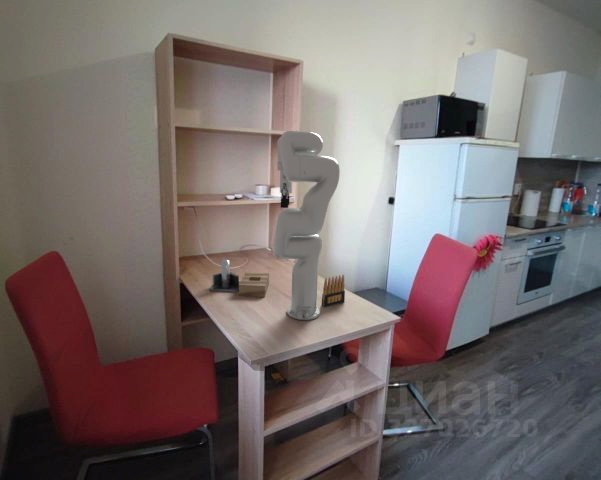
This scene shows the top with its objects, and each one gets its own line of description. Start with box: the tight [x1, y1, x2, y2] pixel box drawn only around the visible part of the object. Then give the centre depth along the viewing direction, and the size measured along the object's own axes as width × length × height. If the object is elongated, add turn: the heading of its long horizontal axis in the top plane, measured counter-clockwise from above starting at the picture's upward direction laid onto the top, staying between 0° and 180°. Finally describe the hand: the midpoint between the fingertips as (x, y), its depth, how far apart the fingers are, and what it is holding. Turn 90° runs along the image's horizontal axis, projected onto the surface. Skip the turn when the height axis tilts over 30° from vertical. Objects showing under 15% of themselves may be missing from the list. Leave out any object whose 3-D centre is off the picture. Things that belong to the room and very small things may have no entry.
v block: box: [209, 271, 241, 293], centre depth 158 cm, size 12×10×6 cm
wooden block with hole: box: [238, 272, 270, 298], centre depth 157 cm, size 16×11×5 cm
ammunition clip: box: [320, 274, 346, 308], centre depth 144 cm, size 11×2×12 cm, turn 123°
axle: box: [220, 258, 231, 288], centre depth 156 cm, size 4×4×12 cm
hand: (285, 206), depth 159 cm, fingers open, 9 cm apart
